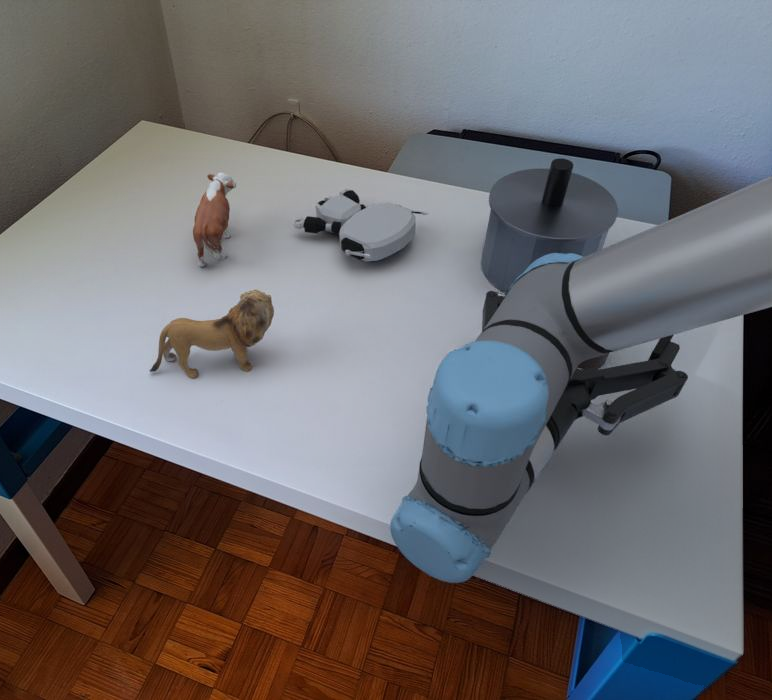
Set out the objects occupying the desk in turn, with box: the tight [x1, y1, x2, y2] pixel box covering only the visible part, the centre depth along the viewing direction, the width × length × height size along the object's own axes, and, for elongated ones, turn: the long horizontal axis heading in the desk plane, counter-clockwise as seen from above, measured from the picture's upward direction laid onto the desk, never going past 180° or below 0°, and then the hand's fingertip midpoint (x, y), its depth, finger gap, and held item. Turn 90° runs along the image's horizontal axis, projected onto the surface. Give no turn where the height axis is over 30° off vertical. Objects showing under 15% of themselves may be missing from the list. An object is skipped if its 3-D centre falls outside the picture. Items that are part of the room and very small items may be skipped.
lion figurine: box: [149, 289, 275, 379], centre depth 75 cm, size 15×5×9 cm, turn 104°
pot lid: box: [488, 157, 619, 242], centre depth 79 cm, size 15×15×6 cm
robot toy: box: [293, 188, 430, 263], centre depth 92 cm, size 12×4×15 cm
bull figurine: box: [192, 171, 237, 268], centre depth 91 cm, size 4×13×8 cm, turn 170°
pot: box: [480, 209, 609, 294], centre depth 84 cm, size 14×14×10 cm
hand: (607, 298), depth 72 cm, fingers open, 13 cm apart
